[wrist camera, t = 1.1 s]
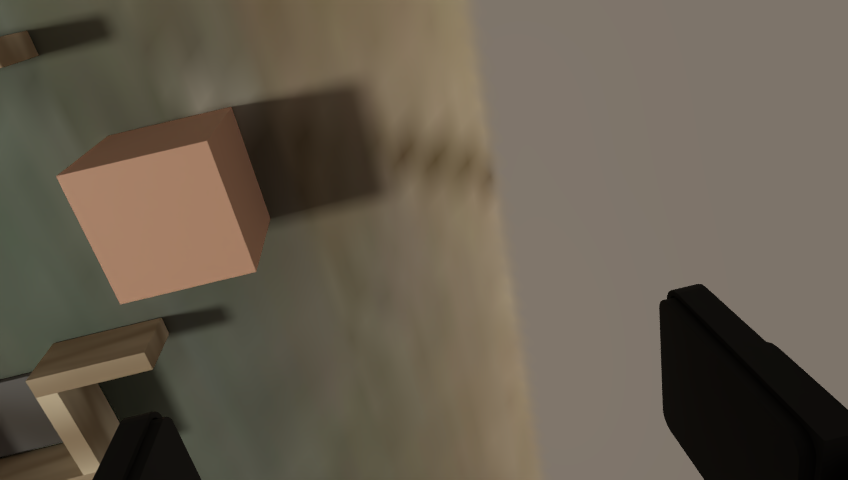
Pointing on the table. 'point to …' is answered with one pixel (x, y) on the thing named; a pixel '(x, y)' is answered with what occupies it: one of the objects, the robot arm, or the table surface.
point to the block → (170, 205)
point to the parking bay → (67, 382)
